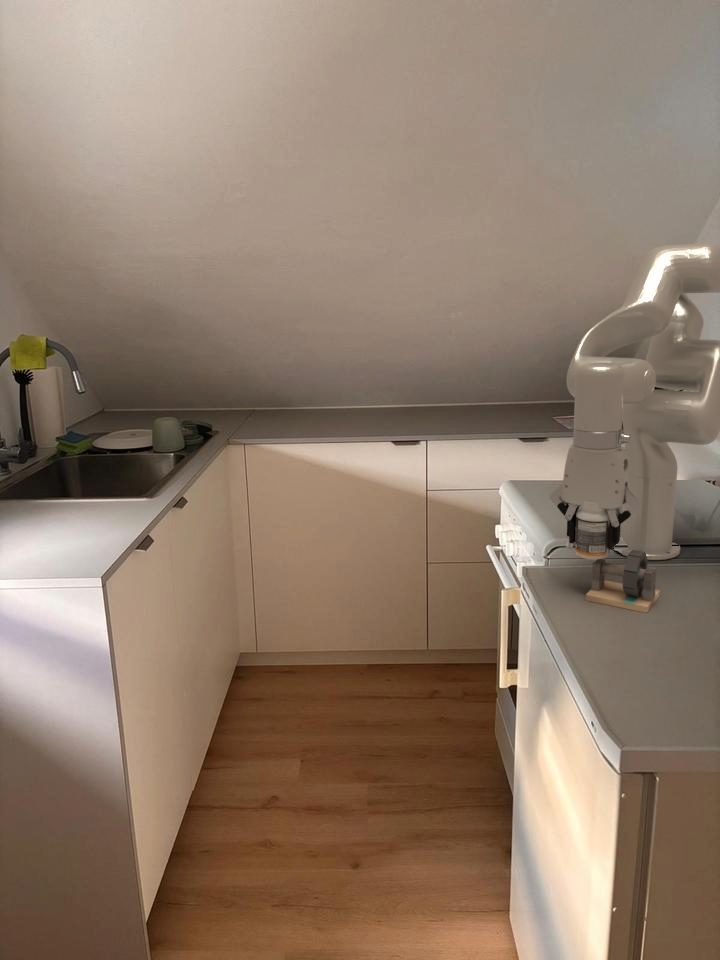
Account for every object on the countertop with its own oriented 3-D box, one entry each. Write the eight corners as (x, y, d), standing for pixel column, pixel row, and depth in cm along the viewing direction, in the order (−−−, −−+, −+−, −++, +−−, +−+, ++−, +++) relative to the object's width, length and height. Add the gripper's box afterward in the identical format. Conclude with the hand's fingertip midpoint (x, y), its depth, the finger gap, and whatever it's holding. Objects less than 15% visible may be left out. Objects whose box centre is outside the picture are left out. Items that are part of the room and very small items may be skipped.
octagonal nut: (633, 584, 131) (636, 546, 130) (645, 587, 130) (648, 548, 128) (621, 599, 126) (624, 558, 124) (634, 601, 125) (636, 560, 123)
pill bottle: (582, 546, 135) (585, 492, 132) (614, 553, 131) (617, 497, 129) (569, 556, 130) (571, 500, 128) (602, 563, 127) (604, 505, 124)
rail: (600, 584, 135) (601, 553, 134) (659, 595, 130) (661, 562, 128) (585, 600, 129) (586, 567, 127) (647, 612, 123) (649, 578, 122)
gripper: (657, 439, 124) (650, 545, 129) (553, 431, 134) (551, 530, 138) (645, 448, 118) (639, 559, 123) (538, 439, 127) (535, 542, 132)
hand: (592, 543), depth 130 cm, fingers closed on pill bottle, 5 cm apart
